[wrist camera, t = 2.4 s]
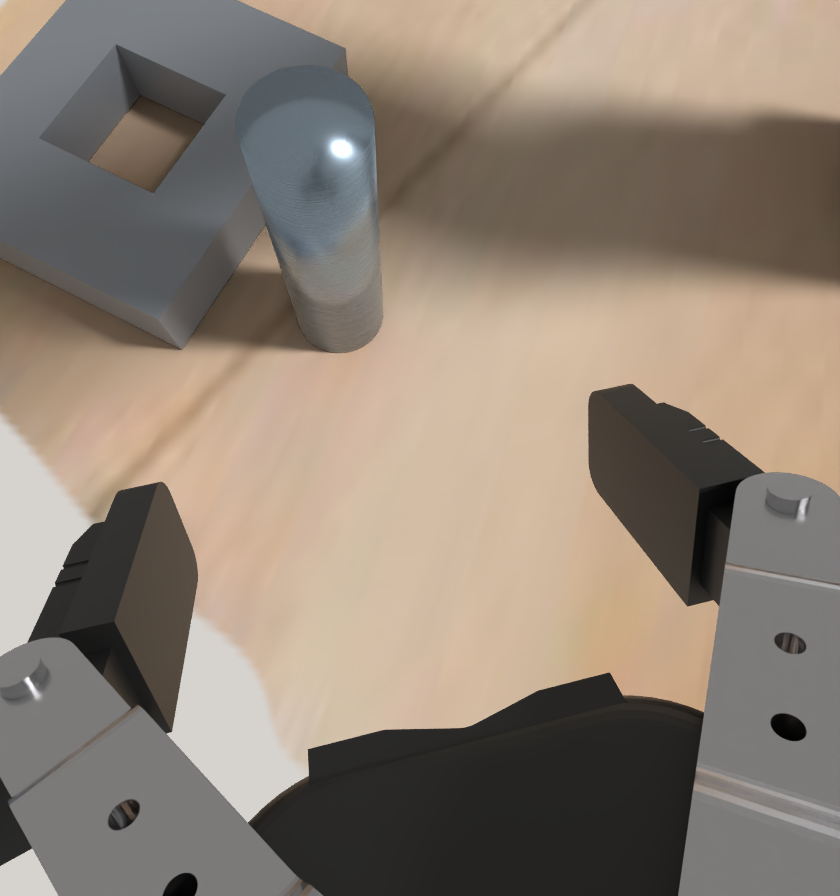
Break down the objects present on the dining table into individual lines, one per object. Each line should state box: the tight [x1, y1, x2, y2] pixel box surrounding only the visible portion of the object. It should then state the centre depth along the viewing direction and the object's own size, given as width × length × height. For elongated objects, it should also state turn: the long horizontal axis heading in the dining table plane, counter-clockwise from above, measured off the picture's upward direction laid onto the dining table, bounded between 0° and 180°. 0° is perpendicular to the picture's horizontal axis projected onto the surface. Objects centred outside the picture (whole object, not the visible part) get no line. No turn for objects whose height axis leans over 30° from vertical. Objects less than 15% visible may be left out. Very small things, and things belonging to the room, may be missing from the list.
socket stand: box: [0, 0, 348, 350], centre depth 31 cm, size 16×13×3 cm
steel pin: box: [235, 65, 383, 353], centre depth 24 cm, size 4×4×12 cm
